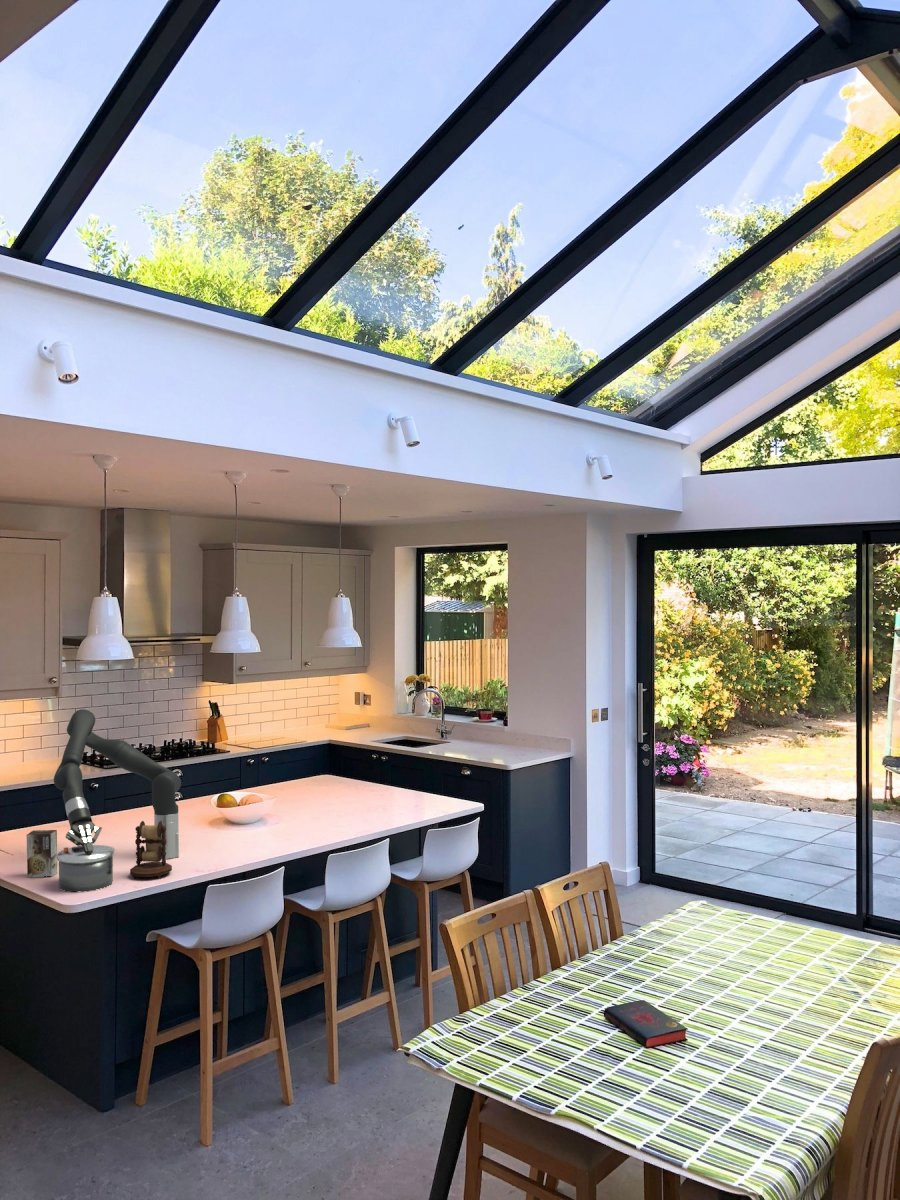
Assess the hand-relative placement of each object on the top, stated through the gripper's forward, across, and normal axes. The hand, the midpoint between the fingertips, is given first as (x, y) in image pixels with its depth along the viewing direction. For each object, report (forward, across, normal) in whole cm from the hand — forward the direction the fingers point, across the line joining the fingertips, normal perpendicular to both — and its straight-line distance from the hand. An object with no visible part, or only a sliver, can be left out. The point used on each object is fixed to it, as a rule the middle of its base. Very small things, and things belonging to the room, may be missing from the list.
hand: (89, 853), depth 339 cm
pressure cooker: (+5, 0, -12) cm, 13 cm away
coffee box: (-11, +8, -29) cm, 32 cm away
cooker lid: (-2, 0, -5) cm, 5 cm away
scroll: (+8, -23, -10) cm, 26 cm away
